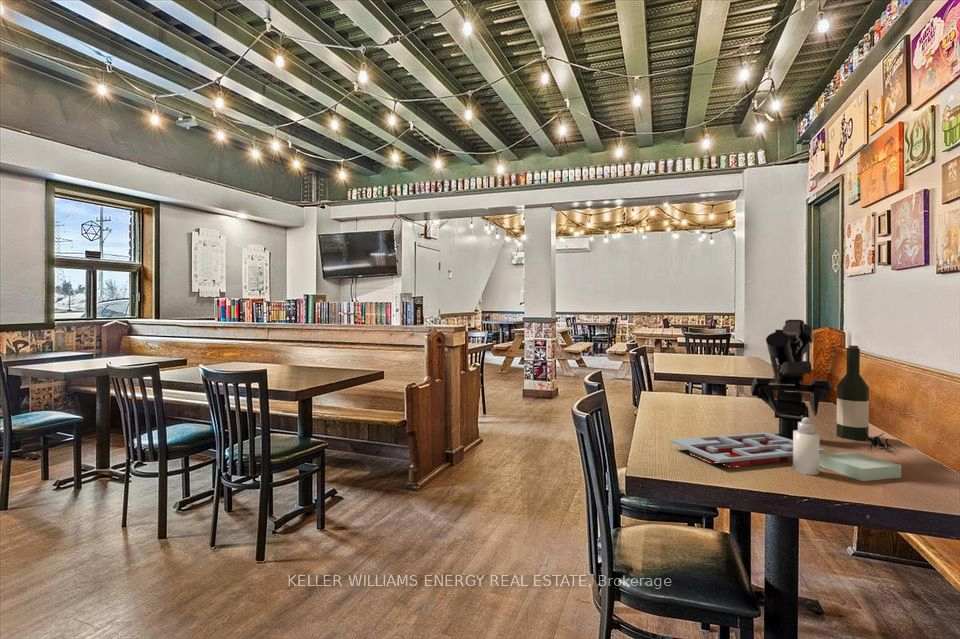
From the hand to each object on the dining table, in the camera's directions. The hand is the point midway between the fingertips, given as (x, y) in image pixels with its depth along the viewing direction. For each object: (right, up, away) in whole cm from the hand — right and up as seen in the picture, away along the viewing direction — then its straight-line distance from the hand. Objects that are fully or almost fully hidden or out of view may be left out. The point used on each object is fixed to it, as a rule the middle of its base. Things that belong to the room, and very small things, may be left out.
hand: (796, 413), depth 130 cm
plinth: (+11, -13, -7) cm, 19 cm away
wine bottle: (+35, -13, +26) cm, 46 cm away
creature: (+32, -13, +11) cm, 37 cm away
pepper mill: (-2, -14, -7) cm, 15 cm away
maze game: (-10, -14, +8) cm, 19 cm away
